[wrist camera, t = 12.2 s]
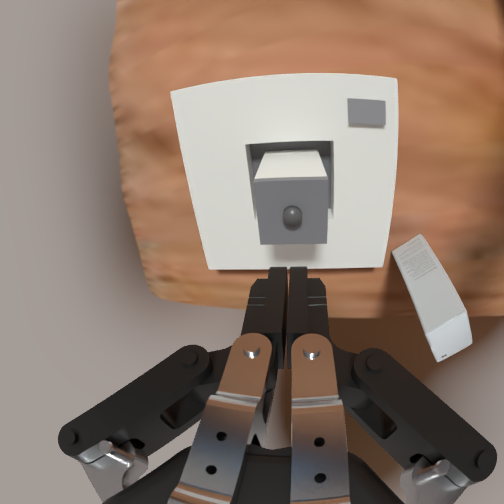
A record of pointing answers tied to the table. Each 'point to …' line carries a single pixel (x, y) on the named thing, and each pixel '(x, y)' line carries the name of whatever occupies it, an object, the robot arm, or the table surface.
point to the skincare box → (433, 298)
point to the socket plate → (291, 138)
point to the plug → (291, 198)
